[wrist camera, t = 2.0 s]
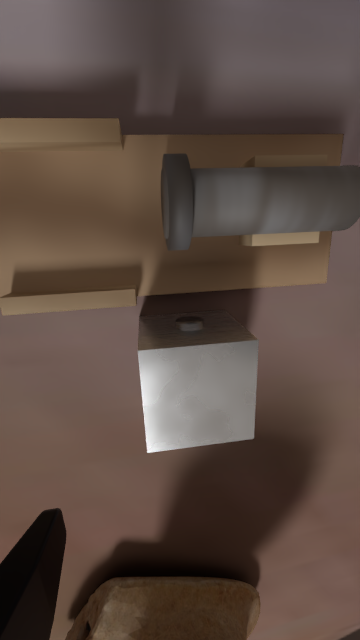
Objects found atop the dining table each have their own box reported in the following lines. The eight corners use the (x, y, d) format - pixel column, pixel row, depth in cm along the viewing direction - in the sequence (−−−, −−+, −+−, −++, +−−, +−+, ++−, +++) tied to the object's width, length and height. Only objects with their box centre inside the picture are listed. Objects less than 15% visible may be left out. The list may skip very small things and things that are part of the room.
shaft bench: (315, 283, 16) (393, 305, 11) (-206, 319, 13) (-423, 371, 8) (330, 136, 14) (438, 79, 9) (-294, 139, 11) (-670, 56, 6)
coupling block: (223, 388, 18) (253, 443, 13) (146, 397, 17) (148, 458, 12) (224, 304, 16) (258, 333, 11) (138, 311, 15) (137, 343, 11)
